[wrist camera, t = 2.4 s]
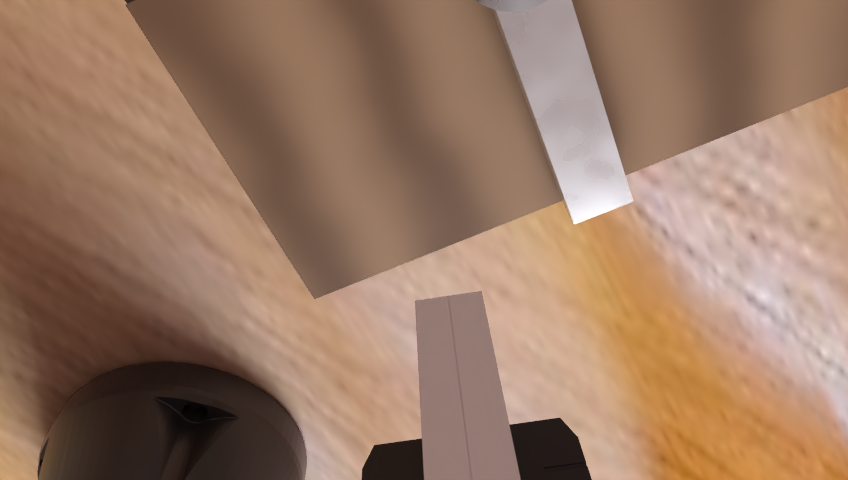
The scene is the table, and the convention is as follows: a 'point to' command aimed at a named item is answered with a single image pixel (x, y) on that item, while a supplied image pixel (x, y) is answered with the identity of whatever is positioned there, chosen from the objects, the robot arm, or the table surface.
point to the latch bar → (564, 103)
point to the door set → (459, 106)
